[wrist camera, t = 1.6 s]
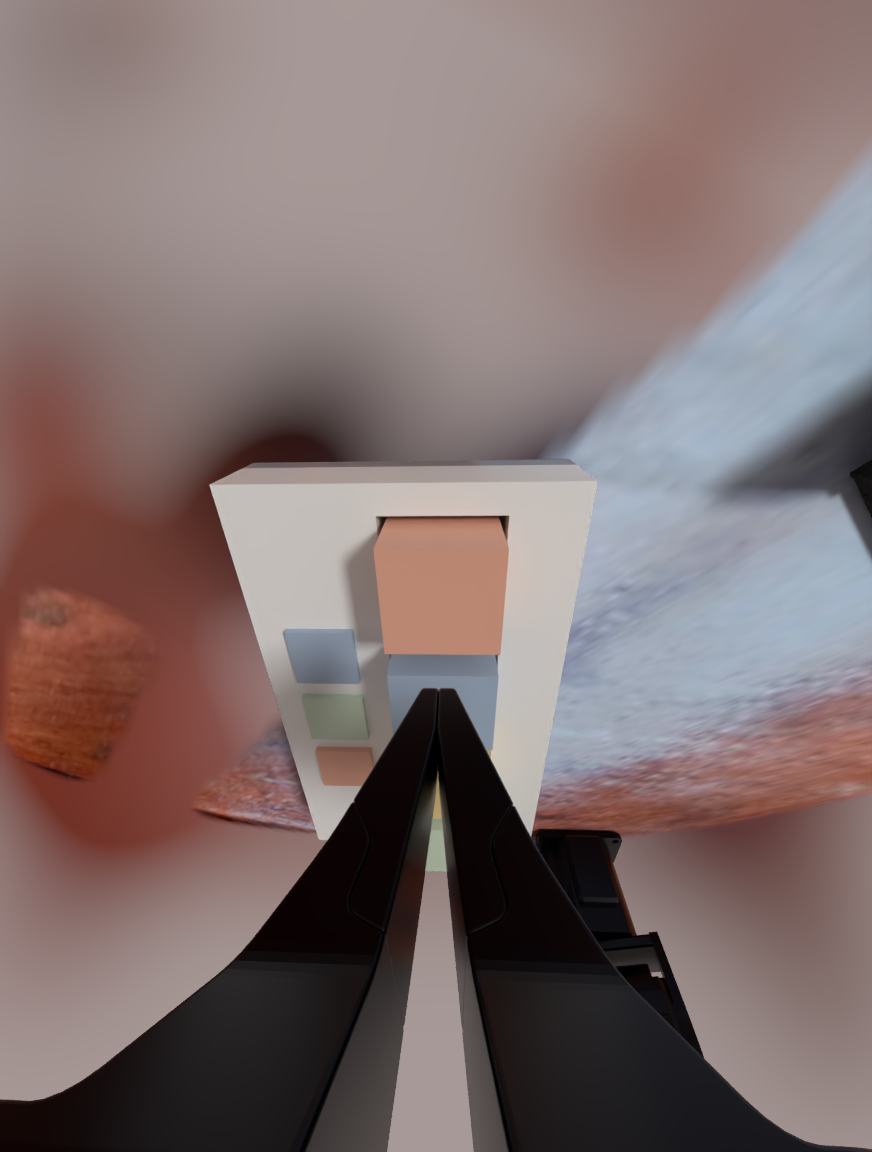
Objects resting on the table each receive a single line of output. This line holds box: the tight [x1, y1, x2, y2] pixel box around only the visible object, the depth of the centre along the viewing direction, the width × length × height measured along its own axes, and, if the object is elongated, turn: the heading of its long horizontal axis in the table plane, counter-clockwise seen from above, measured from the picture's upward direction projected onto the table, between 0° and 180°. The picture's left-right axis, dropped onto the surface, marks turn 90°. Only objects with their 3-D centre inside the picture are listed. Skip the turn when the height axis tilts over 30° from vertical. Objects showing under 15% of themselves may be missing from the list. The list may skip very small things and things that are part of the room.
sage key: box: [425, 819, 447, 872], centre depth 23 cm, size 4×4×4 cm
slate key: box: [387, 654, 499, 750], centre depth 18 cm, size 4×4×4 cm
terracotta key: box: [373, 516, 509, 655], centre depth 15 cm, size 4×4×4 cm
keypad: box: [210, 459, 598, 840], centre depth 21 cm, size 24×14×4 cm, turn 1°
